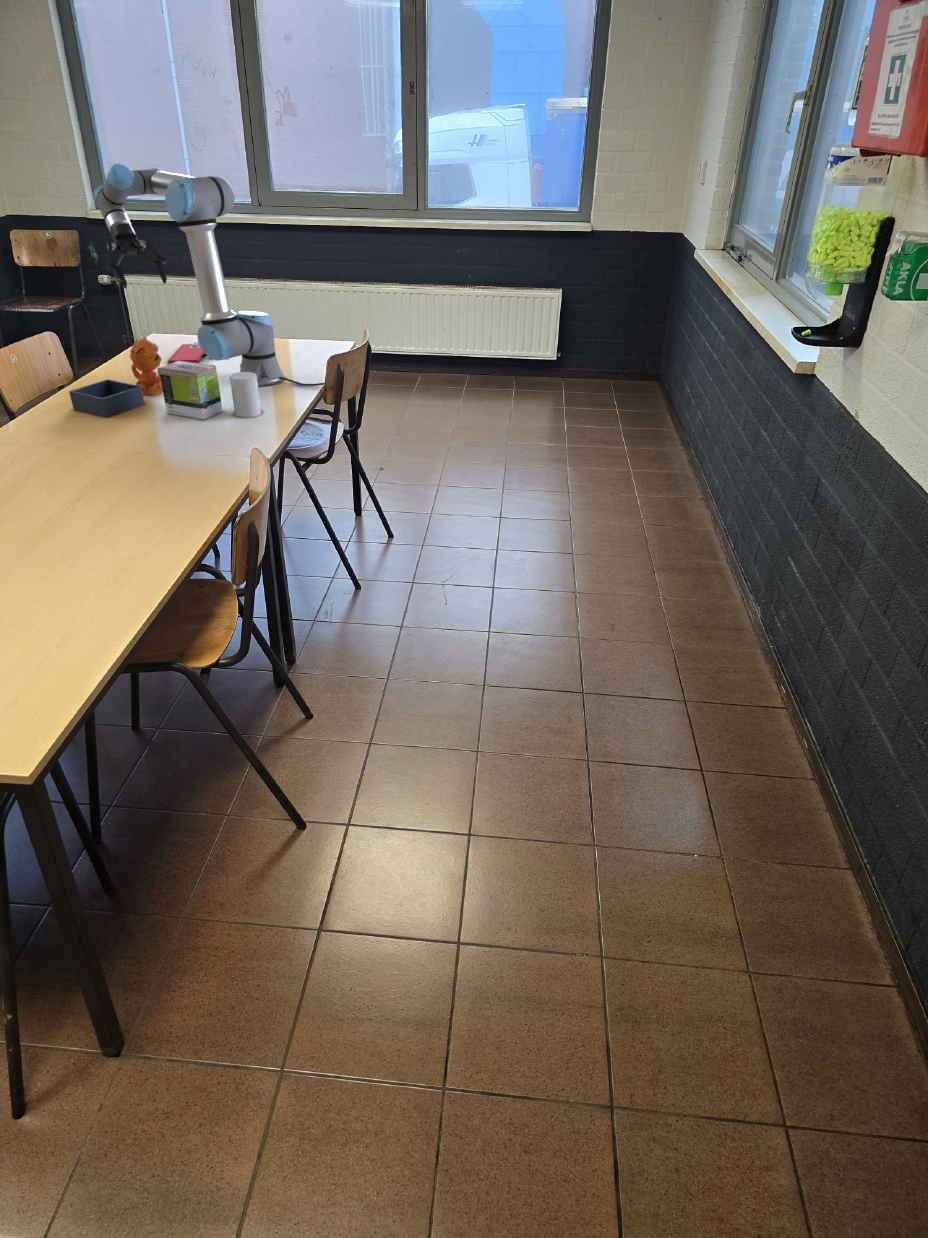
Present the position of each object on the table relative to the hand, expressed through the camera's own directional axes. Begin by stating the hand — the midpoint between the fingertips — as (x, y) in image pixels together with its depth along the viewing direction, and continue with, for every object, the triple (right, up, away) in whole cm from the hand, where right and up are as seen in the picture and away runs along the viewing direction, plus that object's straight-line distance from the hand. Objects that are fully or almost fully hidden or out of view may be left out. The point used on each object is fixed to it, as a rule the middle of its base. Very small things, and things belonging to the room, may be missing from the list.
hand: (145, 283), depth 283 cm
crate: (-7, -45, -12) cm, 47 cm away
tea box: (+22, -48, -16) cm, 55 cm away
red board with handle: (+4, -10, +43) cm, 45 cm away
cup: (+39, -48, -16) cm, 64 cm away
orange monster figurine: (+2, -37, +1) cm, 37 cm away
